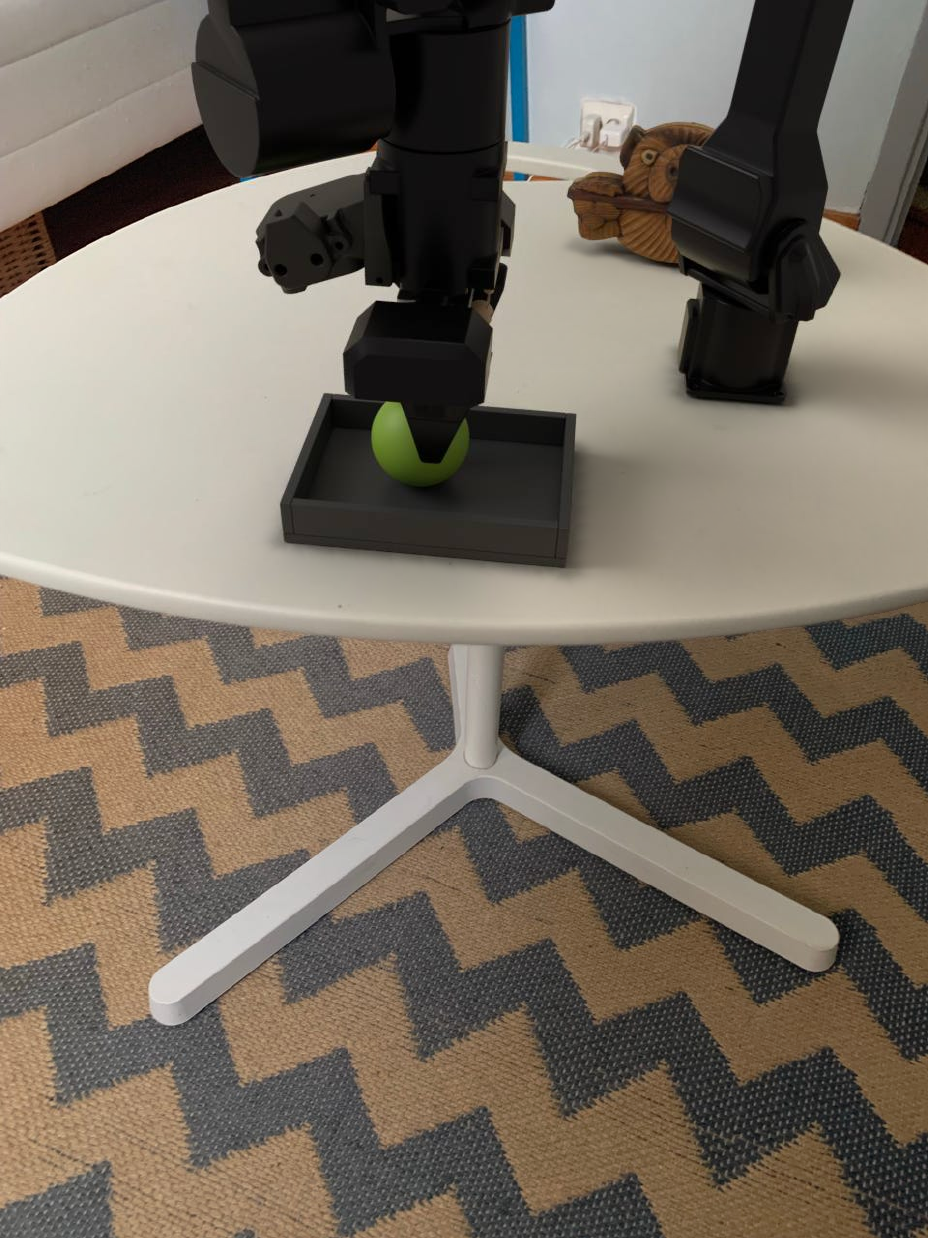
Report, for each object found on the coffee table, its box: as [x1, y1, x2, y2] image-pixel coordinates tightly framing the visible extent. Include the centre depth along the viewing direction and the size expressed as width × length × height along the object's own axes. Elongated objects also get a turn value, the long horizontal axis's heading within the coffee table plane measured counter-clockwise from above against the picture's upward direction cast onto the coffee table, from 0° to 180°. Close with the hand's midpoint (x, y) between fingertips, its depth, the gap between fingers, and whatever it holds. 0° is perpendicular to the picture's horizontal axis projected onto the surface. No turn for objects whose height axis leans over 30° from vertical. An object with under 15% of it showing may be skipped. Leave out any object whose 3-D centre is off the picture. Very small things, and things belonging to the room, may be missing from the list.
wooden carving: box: [566, 121, 716, 264], centre depth 81 cm, size 16×5×10 cm, turn 78°
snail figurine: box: [372, 290, 494, 487], centre depth 56 cm, size 5×6×12 cm
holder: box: [279, 392, 577, 568], centre depth 59 cm, size 15×11×3 cm
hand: (438, 431), depth 57 cm, fingers open, 6 cm apart
